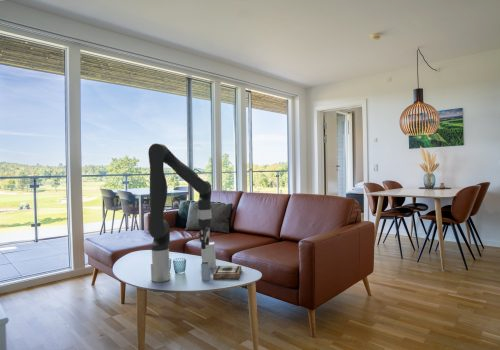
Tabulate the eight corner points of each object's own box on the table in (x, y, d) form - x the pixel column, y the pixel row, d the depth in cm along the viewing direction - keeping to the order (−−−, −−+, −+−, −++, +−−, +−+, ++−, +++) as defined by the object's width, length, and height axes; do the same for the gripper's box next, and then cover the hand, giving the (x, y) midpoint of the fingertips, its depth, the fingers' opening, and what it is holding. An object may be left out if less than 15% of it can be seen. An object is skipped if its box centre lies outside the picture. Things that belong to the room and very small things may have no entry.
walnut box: (213, 279, 181) (213, 273, 181) (218, 270, 195) (217, 265, 195) (238, 279, 180) (238, 273, 179) (241, 270, 194) (241, 265, 193)
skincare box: (216, 265, 206) (215, 241, 205) (215, 268, 200) (214, 244, 199) (202, 265, 205) (201, 242, 205) (201, 268, 199) (200, 244, 199)
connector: (201, 280, 180) (201, 262, 179) (203, 277, 183) (202, 260, 183) (208, 280, 179) (208, 262, 179) (210, 277, 183) (209, 260, 183)
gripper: (201, 215, 187) (201, 243, 188) (194, 219, 173) (195, 250, 174) (214, 215, 187) (214, 243, 187) (208, 219, 173) (209, 250, 173)
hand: (205, 246), depth 181 cm, fingers open, 8 cm apart
